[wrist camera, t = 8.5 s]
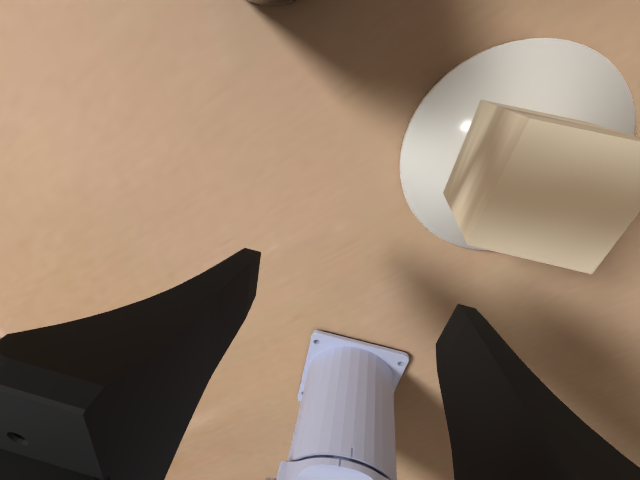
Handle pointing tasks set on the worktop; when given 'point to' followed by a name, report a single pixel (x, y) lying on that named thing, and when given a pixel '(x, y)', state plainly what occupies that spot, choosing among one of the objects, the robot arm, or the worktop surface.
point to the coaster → (509, 89)
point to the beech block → (544, 186)
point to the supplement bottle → (272, 2)
